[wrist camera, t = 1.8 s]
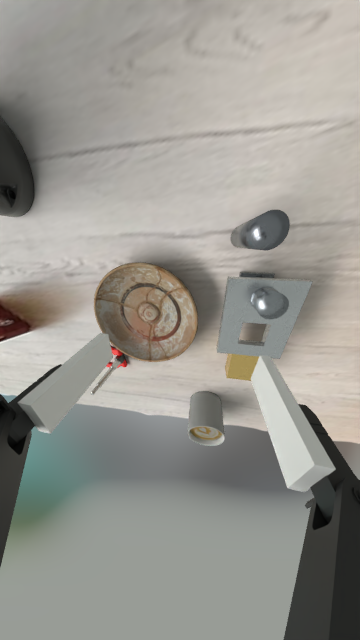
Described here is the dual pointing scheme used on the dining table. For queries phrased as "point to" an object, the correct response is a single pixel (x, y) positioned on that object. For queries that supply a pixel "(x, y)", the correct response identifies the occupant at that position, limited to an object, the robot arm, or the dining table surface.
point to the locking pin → (262, 231)
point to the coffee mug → (206, 419)
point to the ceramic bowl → (146, 312)
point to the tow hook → (111, 367)
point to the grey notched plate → (258, 318)
